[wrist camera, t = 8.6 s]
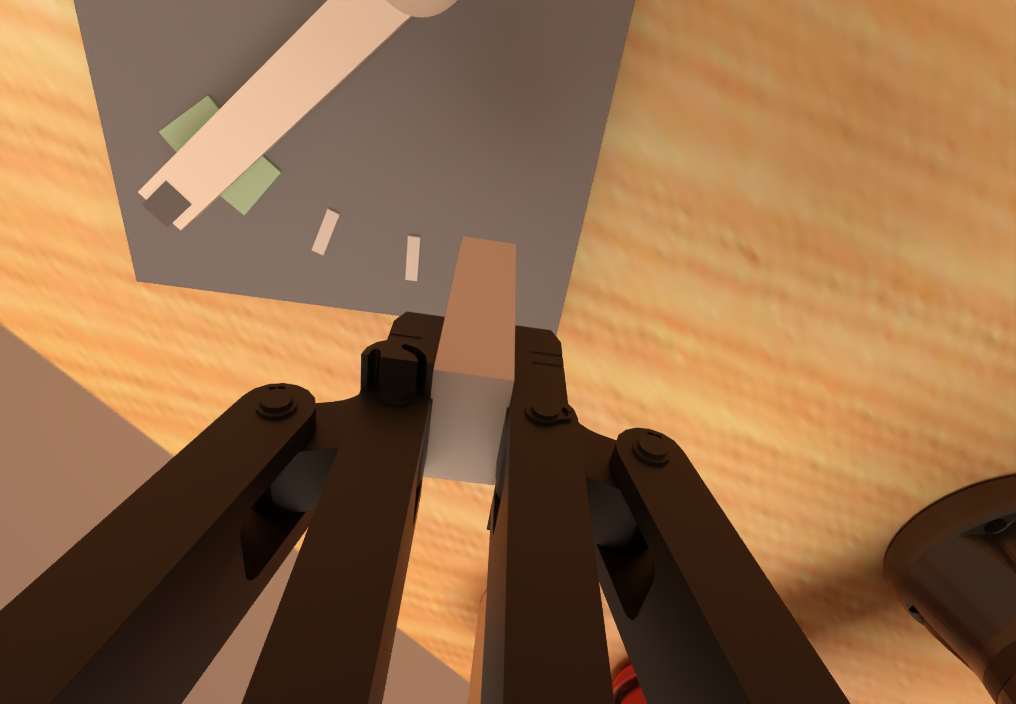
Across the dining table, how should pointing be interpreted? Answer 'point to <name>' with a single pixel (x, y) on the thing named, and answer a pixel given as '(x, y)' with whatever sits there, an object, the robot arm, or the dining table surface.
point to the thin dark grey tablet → (366, 148)
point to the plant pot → (627, 688)
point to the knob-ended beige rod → (276, 102)
